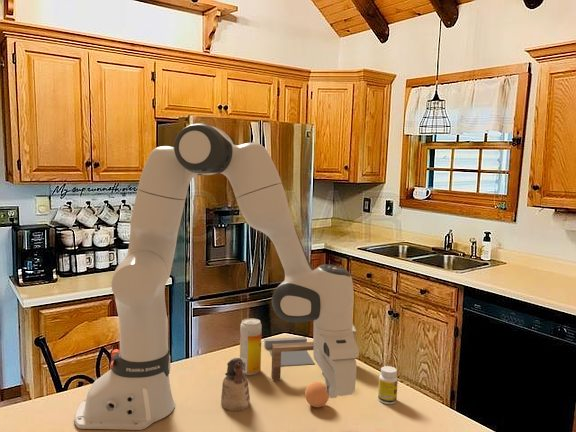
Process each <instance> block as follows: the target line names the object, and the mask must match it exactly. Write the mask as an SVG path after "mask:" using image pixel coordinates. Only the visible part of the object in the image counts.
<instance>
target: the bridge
mask: <svg viewBox="0 0 576 432" xmlns="http://www.w3.org/2000/svg"><path fill="white" fill-rule="evenodd" d="M271 350H272V356H271V372H270V373H271V374H270V375H271V380H272V382H281V373H282V371H281V369H282V368H281V367H282V366H281V352H288V351H306V350H307V351H313V350H314V344H313V341H307V342H301V343H282V344H272V348H271ZM321 372H322V371H321ZM322 375H323V377H324V373H323V372H322Z"/></svg>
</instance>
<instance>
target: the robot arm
mask: <svg viewBox="0 0 576 432" xmlns="http://www.w3.org/2000/svg"><path fill="white" fill-rule="evenodd" d="M277 169H278V168H277V167H276V165H275V163H274V161H273V159H272V157H271V155H270V154H269V152H268V150H267V149H266V147H265V146H263V145H262V144H260V143H259V142H258V143H257V142H246V143H241V144H236V142H235V140H234V139H233V137H232V136H231V135H229V134H228V133H227V132H225V131H224V130H222V129H221V128H218V127H216V126H213V125H208V124H206V123H193V124H190V125H187V126H186V127H184V128H183V129H181V130H180V131H179V132H178V134H177V136H176V137H175V140H174V146H169V145H163V146H157V147H155V148H153V149H152V150H151V151H150V153H149V154H148V156H147V159H146V161H145V164H144V166H143V169H142V171H141V174H140V177H139V181H138V187H137V190H136V195H135V199H134V203H133V207H132V212H131V215H130V216H131V217H130V224H129V225H130V231H129V233H130V234H129V241H128V250H127V253H126V256H125V258H124V259H123V260H122V261H121V262H119V264H118V265H117V266H116V268H115V270H114V272H113V275H112V278H111V291H112V293H113V295H114V301H115V306H116V307H115V308H116V311H117V317H118V325H119V349H117V348H116V349H113V350H112V351H111V354H110V357H111V359H110V369H109V370H108V371H106V372H105V373H104V374H103V375H100V377H97V378H96V380H95V381H94V382H93V383H92V384H91V386H90V387H89V389H88V391H87V394H86V398H85V399H84V400H83V401H82V402H81V403H80V404H79V406H78V407H77V409H76V411H75V414H74V415H75V416H74V424H75V426H76V428H78V429H84V430H86V429H87V430H129V431H130V430H131V431H134V430H135V431H141V430H145V429H146V428H148V427H149V426H151V425H152V424H153V423H155V422H157V421H160V420H162V419H164V418H166V417H167V416H169V415H170V414H171V413H172V412H173V411H174V409H175V405H176V403H175V401H174V398H173V394H172V389H171V384H170V383H171V382H170V371H171V355H170V354H171V353H170V349H169V318H168V315H167V306H166V296H165V293H166V292H165V291H166V290H165V288H166V284H167V282H168V279H169V278H170V276H171V272H172V267H173V263H174V258H175V254H176V253H175V252H176V247H177V241H178V235H179V230H180V225H181V221H182V217H183V213H184V208H185V203H186V198H187V196H188V195H187V194H188V189H189V187H190V183H191V181H192V180H193V179H194V178H195V176H212V175H213V176H214V175H220V174H221V175H223V176H224V177H226V179H228V181H229V183H230V186H231V188H232V191H233V194H234V197H235V200H236V203H237V206H238V208H239V211H240V214H241V215H242V216H243V217H242V218H244V221H245V222H246V223H247V225H249V226H250V228H252V229H254V230H256V231H258V232H261V233H263V234H264V235H266V236H267V237H268V238H269V239H270V240H271V242H272V243H273V245H274V247H275V250H276V253H277V255H278V258H279V260H280V263H281V266H282V268H283V271H284V280H283V281H282V282H281V283H280V284H278V286H277V287H276V289H274V292H273V293H272V297H271V306H272V309H273V311H274V313H275V314H276V315H277V317H278V318H279V319H281V320H282V321H284V322H286V323H289V324H290V323H292V324H293V323H295V324H296V323H298V324H299V323H309V322H312V321H313V336H312V337H313V339H312V340H313V341H312V342H313V344H314V350H312V351H313V359H314V360H313V361H315V363H316V364H317V366H318V367H319V369H320V370H321V372H323V373H324V376H323V378H324V380H325V381H324V382H325V386H326V392H327V393H328V395H329V398H330V399H335V398H337V397H341V396H350V395H353V393H354V392H355V389H356V382H357V360H356V358H357V359H358V358H359V356H360V355H359V354H360V349H359V346H358V345H357V342H356V340H355V339H354V334H353V325H354V324H353V318H352V313H353V310H354V309H353V308H354V300H355V299H354V284H353V283H354V282H353V278H352V275H351V273H350V272H349V271H348V270H347V269H346V268H343V267H341V266H338V265H335V264H320V265H319V266H318V267H316V268H314V267H313V266H312V265H311V262H310V261H309V259H308V258H307V255H306V252H305V249H304V247H303V245H302V242H301V240H300V237H299V235H298V232H297V229H296V227H295V224H294V221H293V218H292V217H293V216H292V214H291V210H290V206H289V201H288V199H287V194H286V191H285V188H284V186H283V182H282V179H281V177H280V174H279V172H278V170H277Z"/></svg>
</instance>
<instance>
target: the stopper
mask: <svg viewBox="0 0 576 432" xmlns="http://www.w3.org/2000/svg"><path fill="white" fill-rule="evenodd" d="M263 340H264V341H263V343H264V344H263V346H264V349H265V350H266V349H272V344H282V343H301V342H308V339H307V337H306V336H300V337H299V336H296V337H277V338H264V339H263Z"/></svg>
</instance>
